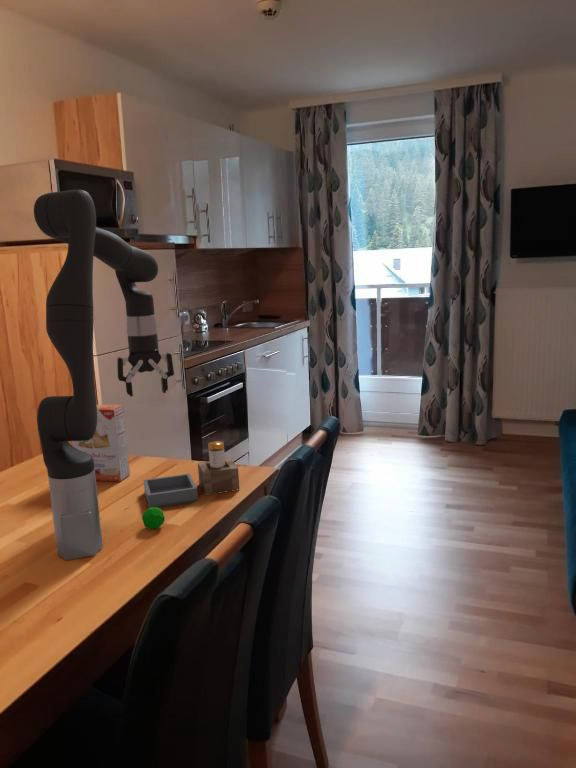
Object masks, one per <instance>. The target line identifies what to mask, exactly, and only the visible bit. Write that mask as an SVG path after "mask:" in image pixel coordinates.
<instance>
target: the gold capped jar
mask: <svg viewBox="0 0 576 768" xmlns="http://www.w3.org/2000/svg"><path fill="white" fill-rule="evenodd" d="M207 444H208V445H207V446H208V457H209V458H208V461H210V470H212V469H219V468H225V459H226V458H225V457H226V456H225V455H226V454H225V445H224V444H225V443H224V441H220V440H215V441H211V442H208V443H207Z"/></svg>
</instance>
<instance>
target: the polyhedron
mask: <svg viewBox="0 0 576 768" xmlns="http://www.w3.org/2000/svg"><path fill="white" fill-rule="evenodd" d="M141 519H142V523H143V525H144V527H145V528H147V529H148V530H150V531H151V530H157V529H159V528H160V527H161V526H162V525H163V524H164V522H165V515H164V512H163V510H162V509H161V508H160V507H159V508H157V507H150V508H149V507H148V508H147V510H145V511H144V512H143V513H142V516H141Z"/></svg>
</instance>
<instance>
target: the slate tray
mask: <svg viewBox="0 0 576 768" xmlns="http://www.w3.org/2000/svg"><path fill="white" fill-rule="evenodd" d="M143 488H144V489H143V490H144V495H145V498H146V502H147V506H148V509H149V508H150V507H157V508H159V509H160V508H162V507H163V508H165V507H170V506H176V505H183V504H184V505H185V504H189V503H190V504H191V503H197V502H196V501H198V502H199V498H198V488H197V486H196V484H195V482H194V480H193V478H192V476H191V474H190V473H183V474H176V475H170V476H161V477H156V478H148V479H143Z"/></svg>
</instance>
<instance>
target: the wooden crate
mask: <svg viewBox="0 0 576 768" xmlns="http://www.w3.org/2000/svg"><path fill="white" fill-rule="evenodd" d="M197 470H198V473H197V474H198V484H199V486H200V488H201V490H202V492H203V491H204V492H203V494H204V493H205V494H204V496H208V495H207V494H210V495H214V494H213V493H217V494H220V493H219V492H223V493H226V492H225V491H230V492H233V491H232V490H236V491H238V490H237V489H240V478H239V477H240V476H239V474H240V473H239V467H238V466H237V464H236V463H235V462H234V461H233V459H232V458H230V457H229V458H225V468H219V469H212V470H210V460H208V461H206V460H205V461H202V462H201V461H200V462H197Z"/></svg>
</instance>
